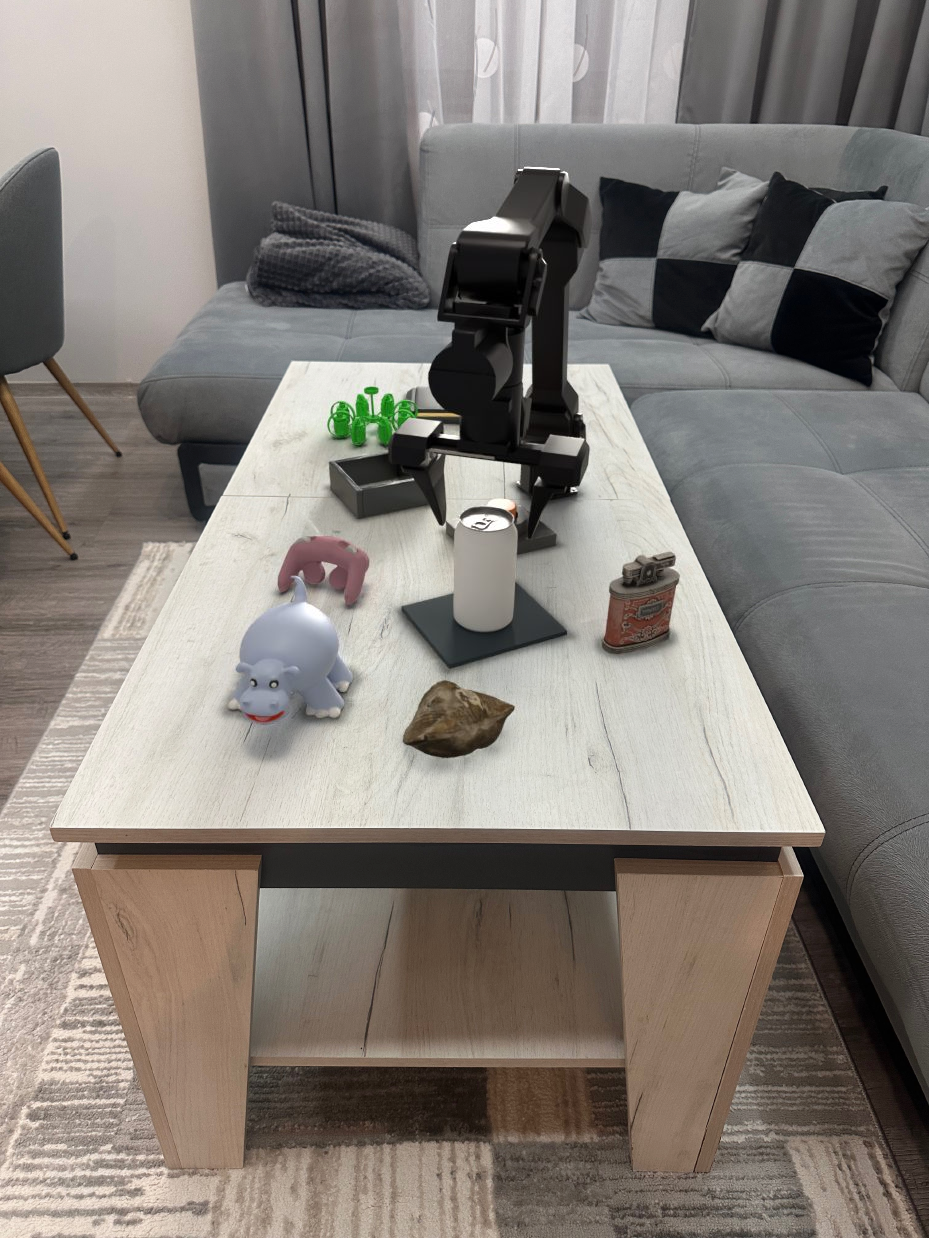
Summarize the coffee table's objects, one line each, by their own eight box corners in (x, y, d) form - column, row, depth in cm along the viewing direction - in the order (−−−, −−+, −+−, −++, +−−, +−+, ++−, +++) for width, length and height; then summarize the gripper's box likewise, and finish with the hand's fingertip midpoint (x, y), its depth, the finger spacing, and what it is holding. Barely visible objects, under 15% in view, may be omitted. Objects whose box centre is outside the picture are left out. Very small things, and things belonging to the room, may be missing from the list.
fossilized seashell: (413, 764, 73) (525, 759, 76) (414, 684, 73) (527, 683, 76) (391, 750, 80) (495, 746, 83) (392, 677, 80) (496, 676, 83)
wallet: (520, 384, 156) (523, 414, 143) (519, 395, 157) (523, 426, 144) (407, 382, 156) (401, 412, 143) (407, 392, 157) (401, 423, 144)
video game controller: (368, 604, 101) (377, 544, 100) (351, 607, 96) (361, 544, 95) (291, 588, 103) (299, 529, 102) (271, 590, 99) (280, 529, 98)
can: (524, 613, 96) (530, 514, 89) (492, 641, 91) (496, 539, 85) (474, 595, 99) (477, 498, 92) (441, 621, 94) (441, 521, 88)
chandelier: (309, 442, 137) (304, 399, 133) (353, 408, 148) (349, 368, 145) (397, 456, 133) (395, 412, 129) (435, 420, 144) (434, 379, 140)
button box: (520, 516, 117) (521, 492, 115) (556, 545, 110) (558, 520, 108) (445, 532, 113) (445, 507, 111) (478, 564, 106) (479, 538, 104)
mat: (511, 582, 102) (511, 578, 102) (567, 635, 94) (567, 630, 93) (401, 610, 97) (401, 606, 97) (449, 669, 88) (449, 664, 88)
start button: (506, 508, 112) (507, 496, 111) (520, 520, 109) (521, 507, 108) (481, 514, 110) (482, 501, 109) (495, 526, 108) (496, 513, 107)
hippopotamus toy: (205, 749, 78) (189, 662, 72) (256, 651, 90) (245, 571, 85) (325, 759, 77) (317, 672, 71) (360, 659, 89) (355, 578, 84)
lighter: (614, 659, 90) (625, 574, 85) (595, 641, 93) (605, 559, 87) (676, 639, 93) (691, 557, 88) (656, 623, 96) (669, 542, 90)
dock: (399, 475, 127) (399, 449, 125) (431, 504, 119) (431, 477, 117) (330, 488, 123) (328, 461, 121) (357, 519, 115) (356, 491, 113)
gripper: (605, 363, 85) (589, 509, 94) (421, 345, 89) (423, 486, 98) (587, 401, 76) (571, 558, 85) (383, 378, 80) (388, 530, 89)
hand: (485, 530), depth 89 cm, fingers open, 9 cm apart
